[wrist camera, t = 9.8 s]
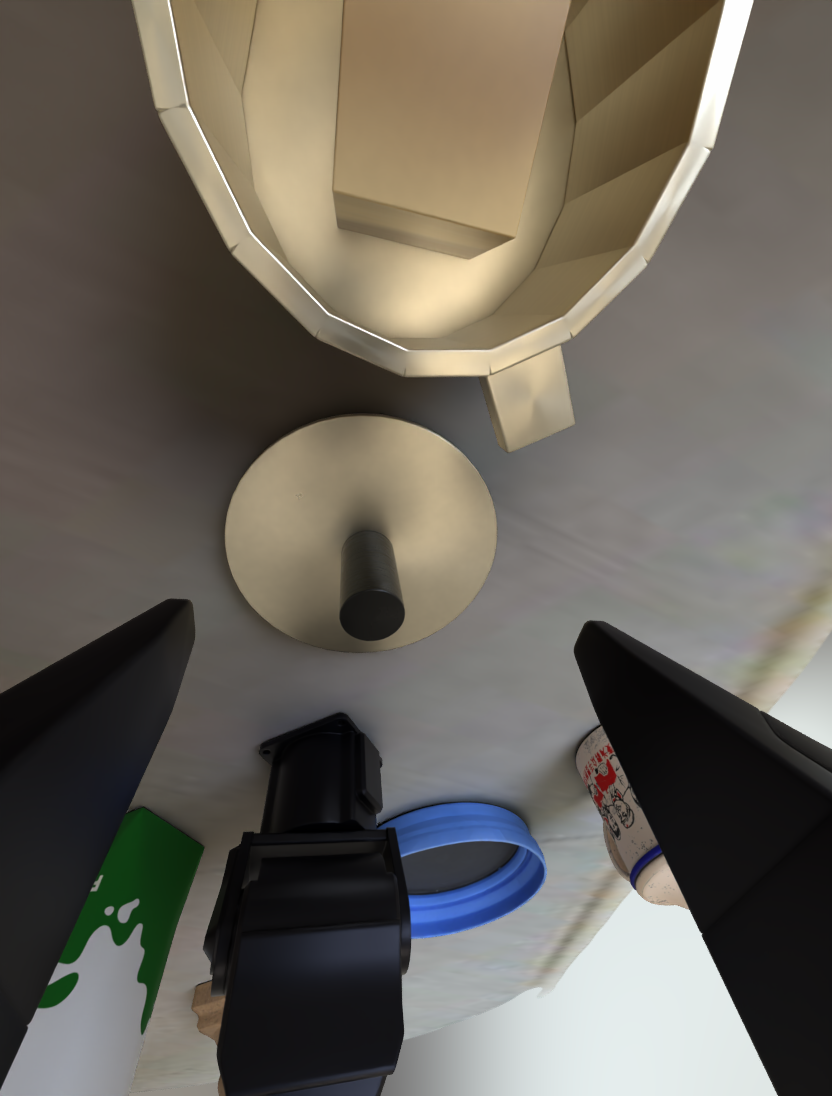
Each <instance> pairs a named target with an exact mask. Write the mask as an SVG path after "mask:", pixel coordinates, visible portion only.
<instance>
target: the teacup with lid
mask: <svg viewBox="0 0 832 1096" xmlns="http://www.w3.org/2000/svg"><path fill="white" fill-rule="evenodd" d="M576 766H577V769H578V771H579V773H580V775H581V777H582V779H583V781H584V783H585V785H586V787H587V789H588V791H589V793H590V795H591V797H592V799H593V801H594V803H595V805H596V807H597V809H598V811H599V813H600V815H601V817H602V819H603V831H604V838H605V843H606V847H607V850H608V853H609V855H610V858H611V860H612V862H613V864H614V866H615V868H616V869H617V871H618V872H619V874H620V875H621V876H622V877H623V878H624V879H626V880H627V881H629V882H630V883H631V885H632V887H633V888H634V889H635V890H636V891H637V892H638V894H639V895H640V896H641V897H642V898H643V899H645V900H646V901H648V902H650V903H653V904H657V905H678V906H681V907H683V908H686V909H689V907H688V905H687V903H686V901H685V899H684V897H683V895H682V893H681V891H680V889H679V887H678V884H677V882H676V880H675V878H674V876H673V874H672V872H671V870H670V868H669V866H668V863H667V861H666V859H665V857H664V855H663V853H662V851H661V849H660V847H659V845H658V843H657V840H656V838H655V836H654V834H653V832H652V830H651V828H650V826H649V824H648V822H647V819H646V817H645V815H644V813H643V811H642V809H641V807H640V805H639V803H638V801H637V798H636V796H635V794H634V792H633V790H632V788H631V786H630V784H629V782H628V780H627V778H626V775H625V773H624V771H623V769H622V767H621V765H620V763H619V761H618V759H617V757H616V754H615V752H614V750H613V748H612V746H611V744H610V742H609V740H608V738H607V736H606V734H605V731H604V729H603V727H602V726H600V727H599V728H597V729H596V730H595V731H593V732H592V733H591V734H590V735H589V736H588V737H587V738H586V739H585V740H584V742H583V743H582V744H581V746H580V747H579V750H578V752H577V755H576Z"/></svg>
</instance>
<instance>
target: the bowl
mask: <svg viewBox="0 0 832 1096" xmlns="http://www.w3.org/2000/svg"><path fill="white" fill-rule="evenodd" d="M386 827H395V829H396V834H397V839H398V844H399V849H400V855H401V860H402V865H403V870H404V875H405V881H406V886H407V891H408V897H409V904H410V915H411V939H418V938H430V937H437V936H444V935H449V934H454V933H458V932H462V931H466V930H469V929H473V928H476V927H479V926H482V925H485V924H487V923H490V922H492V921H495V920H497V919H499V918H502V917H504V916H506V915H508V914H509V913H511V912H513V911H515V910H516V909H518V908H519V907H521V906H522V905H524V904H525V903H527V902H528V901H529V900H530V899H531V898H533V897H534V896H535V895H536V893H537V892H538V891H539V890H540V889H541V887H542V885H543V884H544V882H545V879H546V875H547V868H546V864H545V860H544V856H543V853H542V851H541V849H540V848H539V846H538V844H537V842H536V841H535V840H534V838H533V837H532V836H531V835H530V834H529V831H528V828H527V826H526V824H525V823H524V822H523V821H522V820H521V819H520V818H519V817H518V816H517V815H515V814H514V813H512V812H510V811H508V810H506V809H504V808H501V807H498V806H494V805H489V804H484V803H472V802H459V803H449V804H441V805H435V806H431V807H426V808H422V809H419V810H415V811H412V812H409V813H407V814H404V815H402V816H399V817H397V818H395V819H393V820H390V821H389V822H387V823H385V824H383V825H382V826H380V827H378V828H377V829H386Z"/></svg>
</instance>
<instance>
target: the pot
mask: <svg viewBox="0 0 832 1096" xmlns="http://www.w3.org/2000/svg"><path fill="white" fill-rule="evenodd" d="M131 2H132V6H133V11H134V16H135V20H136V25H137V29H138V34H139V39H140V43H141V48H142V52H143V57H144V61H145V66H146V71H147V75H148V80H149V84H150V89H151V93H152V98H153V103H154V107H155V109H156V111H157V112H158V116H159V119H160V121H161V123H162V125H163V127H164V129H165V131H166V133H167V135H168V136H169V138H170V140H171V142H172V144H173V146H174V148H175V150H176V152H177V154H178V156H179V157H180V159H181V161H182V163H183V165H184V167H185V169H186V171H187V173H188V175H189V177H190V178H191V180H192V182H193V184H194V186H195V188H196V190H197V192H198V194H199V196H200V198H201V199H202V201H203V203H204V205H205V207H206V209H207V211H208V213H209V215H210V217H211V218H212V220H213V222H214V224H215V226H216V228H217V230H218V232H219V234H220V236H221V238H222V239H223V241H224V243H225V245H226V247H227V249H228V250H229V251H230V252H231V254H232V256H233V257H234V258H235V259H236V260H237V261H238V262H239V263H240V264H241V265H242V266H243V267H244V268H245V269H246V270H247V271H248V272H249V273H250V274H251V275H252V276H253V277H254V278H255V279H256V280H257V281H258V282H259V283H260V284H261V285H262V286H263V287H264V288H265V289H266V290H267V291H268V292H269V293H270V294H271V295H272V296H273V297H274V298H275V299H276V300H277V301H278V302H279V303H280V304H281V305H282V306H283V307H284V308H285V309H286V310H287V311H288V312H289V313H290V314H291V315H292V316H293V317H294V318H295V319H296V320H297V321H298V322H299V323H300V324H301V325H302V326H303V327H304V328H305V329H306V330H307V331H308V332H309V333H310V334H311V335H312V336H313V337H316V338H317V339H318V340H320V341H322V342H324V343H327V344H329V345H331V346H333V347H336V348H338V349H340V350H343V351H345V352H347V353H349V354H352V355H354V356H356V357H358V358H361V359H363V360H365V361H368V362H370V363H372V364H374V365H377V366H379V367H381V368H383V369H386V370H388V371H390V372H393V373H395V374H397V375H399V376H404V377H479V380H480V384H481V387H482V390H483V394H484V397H485V401H486V404H487V407H488V411H489V414H490V418H491V421H492V424H493V428H494V431H495V435H496V438H497V441H498V445H499V446H500V447H501V448H502V449H504V450H505V451H506V452H507V453H511V452H513V451H515V450H518V449H520V448H522V447H525V446H527V445H529V444H531V443H534V442H536V441H538V440H541V439H543V438H545V437H548V436H550V435H552V434H555V433H557V432H559V431H561V430H564V429H566V428H568V427H571V426H573V425H575V419H574V414H573V408H572V403H571V397H570V392H569V387H568V381H567V376H566V370H565V365H564V360H563V354H562V349H561V344H563V343H566V342H568V341H570V340H571V339H573V338H575V337H576V336H577V335H578V334H579V333H580V332H581V331H582V330H583V329H584V328H585V327H586V326H587V325H588V324H589V323H590V322H591V321H592V320H593V319H594V318H595V317H596V316H597V315H598V314H599V313H600V312H601V311H602V310H603V309H604V308H605V307H606V306H607V305H608V304H609V303H610V302H611V301H612V300H613V299H614V298H615V297H616V296H617V295H618V294H619V293H621V292H622V291H623V290H624V289H625V288H626V287H627V286H628V285H629V284H630V283H631V282H632V281H633V280H634V279H635V278H636V277H637V276H638V275H639V274H640V273H641V272H642V271H643V270H644V269H645V268H646V267H647V264H648V263H649V262H650V261H651V259H652V257H653V255H654V254H655V252H656V250H657V248H658V246H659V245H660V243H661V241H662V239H663V238H664V236H665V234H666V232H667V230H668V229H669V227H670V225H671V223H672V221H673V220H674V218H675V216H676V214H677V212H678V211H679V209H680V207H681V205H682V204H683V202H684V200H685V198H686V196H687V195H688V193H689V191H690V189H691V187H692V186H693V184H694V182H695V180H696V179H697V177H698V175H699V173H700V171H701V170H702V168H703V166H704V164H705V162H706V161H707V159H708V157H709V155H710V153H711V150H712V149H713V148H714V145H715V141H716V137H717V134H718V130H719V126H720V123H721V119H722V115H723V112H724V108H725V104H726V101H727V97H728V93H729V90H730V86H731V83H732V79H733V75H734V72H735V68H736V64H737V61H738V57H739V53H740V50H741V46H742V42H743V39H744V35H745V31H746V28H747V24H748V20H749V17H750V13H751V9H752V6H753V2H754V0H571V5H570V9H569V13H568V18H567V22H566V26H565V30H564V35H563V39H562V43H561V47H560V52H559V56H558V60H557V64H556V69H555V73H554V77H553V81H552V86H551V90H550V94H549V99H548V103H547V107H546V111H545V116H544V120H543V124H542V128H541V133H540V137H539V141H538V145H537V150H536V154H535V158H534V162H533V167H532V171H531V175H530V180H529V184H528V188H527V192H526V197H525V201H524V205H523V209H522V214H521V218H520V222H519V226H518V231H517V235H516V238H515V239H513V240H511V241H508V242H506V243H504V244H502V245H500V246H498V247H496V248H493V249H491V250H489V251H487V252H485V253H483V254H481V255H478V256H476V257H474V258H472V259H464V258H460V257H456V256H452V255H448V254H444V253H440V252H435V251H431V250H427V249H423V248H419V247H415V246H411V245H406V244H402V243H398V242H394V241H390V240H386V239H382V238H377V237H373V236H369V235H365V234H361V233H357V232H353V231H348V230H344V229H340V228H338V227H337V221H336V214H335V207H334V199H333V192H332V180H333V164H334V147H335V130H336V114H337V97H338V80H339V64H340V47H341V30H342V14H343V0H131Z"/></svg>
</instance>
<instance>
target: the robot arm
mask: <svg viewBox="0 0 832 1096" xmlns="http://www.w3.org/2000/svg"><path fill="white" fill-rule="evenodd" d="M194 640H195V622H194V612H193V604H192V602H191V601H190V600H188V599H167V600H165V601H163V602H161V603H160V604H158V605H156V606H154V607H153V608H151V609H149V610H147V611H146V612H144V613H142V614H140V615H139V616H137V617H135V618H133V619H131V620H130V621H128V622H126V623H124V624H123V625H121V626H119V627H117V628H116V629H114V630H112V631H110V632H109V633H107V634H105V635H103V636H102V637H100V638H98V639H96V640H94V641H93V642H91V643H89V644H87V645H86V646H84V647H82V648H80V649H79V650H77V651H75V652H73V653H72V654H70V655H68V656H66V657H64V658H63V659H61V660H59V661H57V662H56V663H54V664H52V665H50V666H49V667H47V668H45V669H43V670H42V671H40V672H38V673H36V674H35V675H33V676H31V677H29V678H27V679H26V680H24V681H22V682H20V683H19V684H17V685H15V686H13V687H12V688H10V689H8V690H6V691H5V692H3V693H1V694H0V1090H1V1088H2V1085H3V1083H4V1081H5V1079H6V1077H7V1074H8V1072H9V1070H10V1068H11V1066H12V1063H13V1061H14V1059H15V1057H16V1055H17V1052H18V1050H19V1048H20V1046H21V1044H22V1041H23V1039H24V1037H25V1035H26V1033H27V1030H28V1026H27V1025H28V1024H30V1022H31V1021H32V1019H33V1016H34V1014H35V1012H36V1010H37V1008H38V1005H39V1003H40V1001H41V999H42V997H43V994H44V992H45V990H46V988H47V986H48V983H49V981H50V979H51V977H52V975H53V972H54V970H55V968H56V966H57V964H58V961H59V959H60V957H61V955H62V953H63V950H64V948H65V946H66V944H67V942H68V940H69V937H70V935H71V933H72V931H73V929H74V926H75V924H76V922H77V920H78V918H79V915H80V913H81V911H82V909H83V907H84V904H85V902H86V900H87V898H88V896H89V893H90V891H91V889H92V887H93V885H94V882H95V880H96V878H97V876H98V874H99V871H100V869H101V867H102V865H103V863H104V860H105V858H106V856H107V854H108V852H109V849H110V847H111V845H112V843H113V841H114V838H115V836H116V834H117V832H118V830H119V827H120V825H121V823H122V821H123V819H124V816H125V814H126V812H127V810H128V808H129V805H130V803H131V801H132V799H133V797H134V795H135V792H136V790H137V788H138V786H139V784H140V781H141V779H142V777H143V775H144V773H145V770H146V768H147V766H148V764H149V762H150V759H151V757H152V755H153V753H154V751H155V748H156V746H157V744H158V742H159V740H160V737H161V735H162V733H163V731H164V729H165V726H166V724H167V722H168V720H169V717H170V715H171V712H172V710H173V707H174V704H175V701H176V698H177V695H178V692H179V689H180V685H181V682H182V679H183V676H184V673H185V670H186V667H187V663H188V660H189V657H190V654H191V651H192V648H193V644H194ZM574 655H575V658H576V661H577V664H578V666H579V669H580V672H581V675H582V677H583V680H584V683H585V685H586V688H587V691H588V694H589V696H590V699H591V702H592V704H593V707H594V710H595V712H596V714H597V716H598V719H599V721H600V723H601V725H602V727H603V729H604V731H605V734H606V736H607V738H608V740H609V742H610V744H611V746H612V748H613V750H614V752H615V754H616V757H617V759H618V761H619V763H620V765H621V767H622V769H623V771H624V773H625V775H626V778H627V780H628V782H629V784H630V786H631V788H632V790H633V792H634V794H635V796H636V798H637V801H638V803H639V805H640V807H641V809H642V811H643V813H644V815H645V817H646V819H647V822H648V824H649V826H650V828H651V830H652V832H653V834H654V836H655V838H656V840H657V843H658V845H659V847H660V849H661V851H662V853H663V855H664V857H665V859H666V861H667V863H668V866H669V868H670V870H671V872H672V874H673V876H674V878H675V880H676V882H677V884H678V887H679V889H680V891H681V893H682V895H683V897H684V899H685V901H686V903H687V905H688V907H689V910H690V912H691V914H692V916H693V918H694V920H695V922H696V924H697V926H698V928H699V931H700V932H701V933H703V934H702V937H703V940H704V942H705V944H706V945H707V948H708V950H709V952H710V954H711V956H712V959H713V961H714V963H715V964H716V967H717V969H718V971H719V973H720V975H721V977H722V979H723V981H724V984H725V986H726V988H727V990H728V992H729V994H730V996H731V998H732V1001H733V1003H734V1005H735V1007H736V1009H737V1011H738V1013H739V1015H740V1017H741V1019H742V1022H743V1024H744V1025H745V1028H746V1030H747V1032H748V1034H749V1036H750V1038H751V1040H752V1043H753V1045H754V1047H755V1049H756V1051H757V1053H758V1055H759V1057H760V1059H761V1061H762V1063H763V1066H764V1068H765V1070H766V1072H767V1074H768V1076H769V1078H770V1080H771V1082H772V1084H773V1087H774V1088H775V1091H776V1093H777V1095H778V1096H832V749H830V748H828V747H826V746H824V745H823V744H821V743H819V742H817V741H815V740H813V739H811V738H810V737H808V736H806V735H804V734H802V733H801V732H799V731H797V730H795V729H793V728H791V727H790V726H788V725H786V724H784V723H783V722H780V721H779V720H777V719H775V718H774V717H772V716H770V715H768V714H767V713H765V712H763V711H759V710H758V708H756V707H754V706H752V705H751V704H749V703H747V702H745V701H744V700H742V699H740V698H738V697H737V696H735V695H733V694H731V693H730V692H728V691H726V690H724V689H722V688H721V687H719V686H717V685H715V684H714V683H712V682H710V681H708V680H707V679H705V678H703V677H701V676H700V675H698V674H696V673H694V672H692V671H691V670H689V669H687V668H685V667H684V666H682V665H680V664H678V663H677V662H675V661H673V660H671V659H670V658H668V657H666V656H664V655H663V654H661V653H659V652H657V651H655V650H654V649H652V648H650V647H648V646H647V645H645V644H643V643H641V642H640V641H638V640H636V639H634V638H633V637H631V636H629V635H627V634H626V633H624V632H622V631H620V630H618V629H617V628H615V627H613V626H611V625H610V624H608V623H606V622H604V621H591V620H590V621H587V622H586V623H585V624H584V626H583V628H582V630H581V632H580V634H579V637H578V639H577V641H576V643H575V646H574ZM259 754H260V755H261V756H262V757H263V758H264V759H265V760H266V761H267V762H268V763H269V764H270V765H271V766H272V767H271V772H270V778H269V784H268V790H267V796H266V801H265V807H264V813H263V819H262V825H261V830H260V833H254V832H243V836H242V841H241V844H239V846H237V847H235V848H233V849H231V850H229V855H228V859H227V864H226V868H225V873H224V877H223V881H222V885H221V889H220V892H219V895H218V898H217V901H216V904H215V907H214V911H213V914H212V917H211V920H210V923H209V926H208V929H207V932H206V936H205V940H204V946H203V950H204V952H205V954H206V955H207V957H208V959H209V960H210V962H211V968H210V975H213V977H212V985H211V997H216V996H224V995H226V997H225V1003H224V1009H223V1015H222V1021H221V1027H220V1033H219V1039H218V1045H217V1061H218V1066H219V1070H220V1075H221V1079H222V1083H223V1087H224V1091H225V1095H226V1096H380V1095H381V1092H382V1089H383V1086H384V1083H385V1080H386V1077H387V1075H391V1074H393V1072H394V1070H395V1068H396V1064H397V1061H398V1057H399V1053H400V1049H401V1045H402V1041H403V1037H404V1022H403V1008H402V975H404V974H405V973H406V972H407V970H408V967H409V961H410V952H411V915H410V904H409V897H408V891H407V886H406V881H405V875H404V870H403V865H402V860H401V855H400V849H399V844H398V839H397V834H396V829H395V827H386V829H377V826H376V814H378V813H380V812H381V810H382V808H383V803H382V788H381V773H380V768H381V767H382V758H381V757H380V756H379V751H378V750H377V749H376V748H375V746H374V745H373V744H372V743H371V741H370V740H369V739H368V737H367V736H366V735H365V734H364V733H362V732H360V730H359V729H358V728H357V727H356V725H355V724H354V723H353V721H352V720H351V719H350V718H349V716H348V715H347V714H345V713H338V714H335V715H333V716H330V717H328V718H325V719H323V720H320V721H318V722H315V723H313V724H310V725H308V726H305V727H303V728H300V729H298V730H295V731H293V732H290V733H288V734H285V735H283V736H280V737H278V738H275V739H272V740H270V741H267V742H265V743H263V744H261V746H260V749H259Z"/></svg>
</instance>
